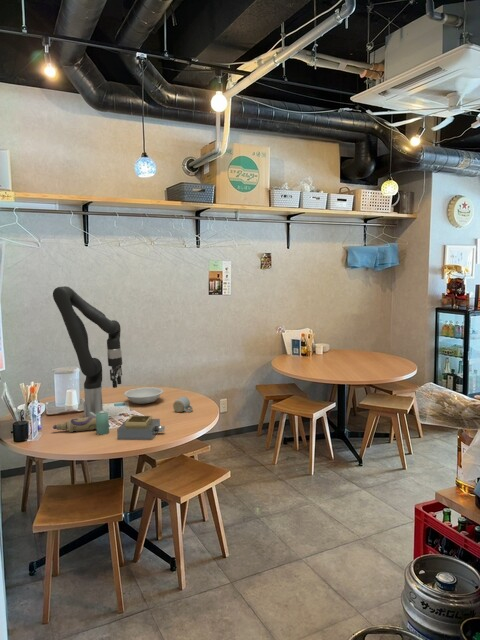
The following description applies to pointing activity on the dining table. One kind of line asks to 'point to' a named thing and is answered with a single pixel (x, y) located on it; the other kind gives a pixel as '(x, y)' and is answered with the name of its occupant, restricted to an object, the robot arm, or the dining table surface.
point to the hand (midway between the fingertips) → (117, 385)
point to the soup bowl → (143, 394)
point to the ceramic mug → (182, 405)
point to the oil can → (102, 422)
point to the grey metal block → (139, 428)
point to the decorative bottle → (78, 424)
